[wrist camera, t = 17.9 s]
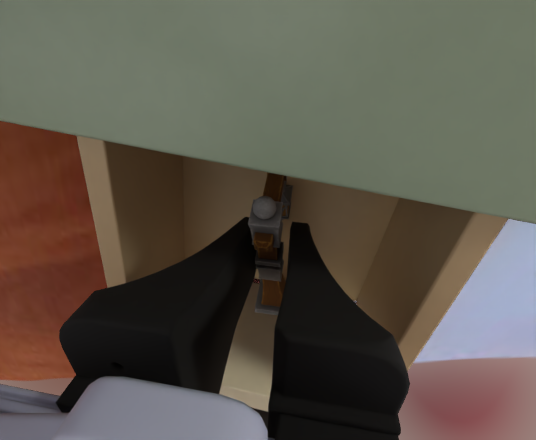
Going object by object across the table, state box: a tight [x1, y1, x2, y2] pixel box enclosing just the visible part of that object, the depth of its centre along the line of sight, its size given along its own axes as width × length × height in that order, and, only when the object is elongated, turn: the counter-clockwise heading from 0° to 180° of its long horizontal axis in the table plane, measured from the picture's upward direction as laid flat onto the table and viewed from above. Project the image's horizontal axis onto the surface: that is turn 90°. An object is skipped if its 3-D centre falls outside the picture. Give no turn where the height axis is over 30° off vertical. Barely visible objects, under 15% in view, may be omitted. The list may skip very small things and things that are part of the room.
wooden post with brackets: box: [248, 172, 293, 315], centre depth 13 cm, size 2×8×4 cm, turn 179°
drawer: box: [76, 135, 508, 431], centre depth 13 cm, size 20×12×6 cm, turn 172°
